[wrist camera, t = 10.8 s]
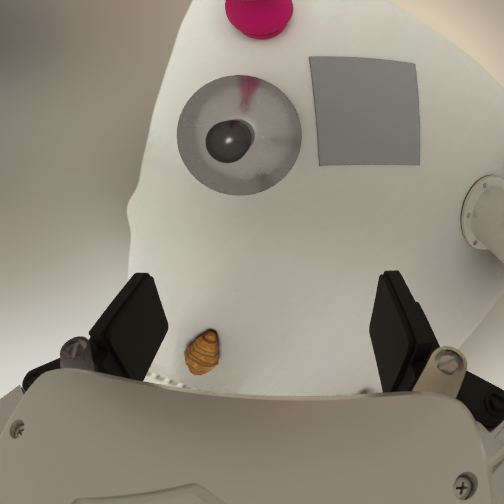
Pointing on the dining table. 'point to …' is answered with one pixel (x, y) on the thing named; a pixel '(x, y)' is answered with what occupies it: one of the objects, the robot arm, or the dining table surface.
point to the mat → (366, 111)
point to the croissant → (203, 353)
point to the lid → (239, 135)
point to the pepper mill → (259, 16)
